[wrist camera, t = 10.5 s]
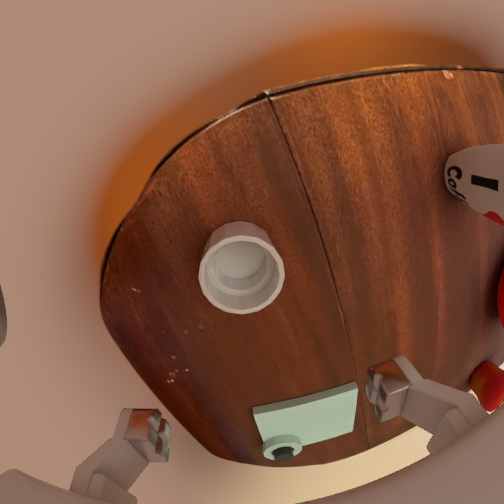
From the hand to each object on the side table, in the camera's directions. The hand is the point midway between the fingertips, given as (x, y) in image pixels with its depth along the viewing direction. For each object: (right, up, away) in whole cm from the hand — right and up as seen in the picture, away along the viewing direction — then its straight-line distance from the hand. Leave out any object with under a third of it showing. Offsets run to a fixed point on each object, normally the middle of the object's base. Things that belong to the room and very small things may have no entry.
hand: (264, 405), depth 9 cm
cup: (+23, +15, +15) cm, 31 cm away
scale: (+8, -19, +25) cm, 32 cm away
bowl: (-2, +5, +16) cm, 17 cm away
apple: (+48, -20, +29) cm, 59 cm away
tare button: (+4, -24, +23) cm, 34 cm away
